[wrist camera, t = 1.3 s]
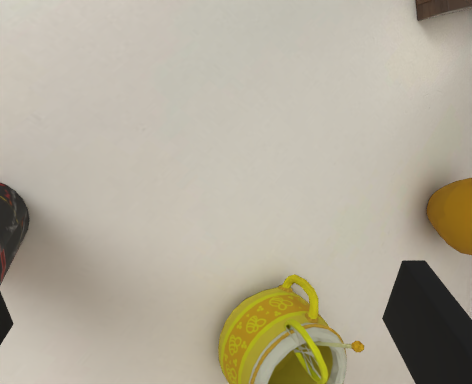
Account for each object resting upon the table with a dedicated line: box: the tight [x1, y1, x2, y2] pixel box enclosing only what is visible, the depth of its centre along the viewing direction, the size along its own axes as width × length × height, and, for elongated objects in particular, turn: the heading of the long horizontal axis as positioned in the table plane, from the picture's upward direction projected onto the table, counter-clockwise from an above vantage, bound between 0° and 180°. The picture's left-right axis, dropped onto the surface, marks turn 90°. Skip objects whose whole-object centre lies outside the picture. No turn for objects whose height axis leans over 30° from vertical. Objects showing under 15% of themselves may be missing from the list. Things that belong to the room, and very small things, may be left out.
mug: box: [218, 274, 364, 384], centre depth 31 cm, size 13×11×12 cm
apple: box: [427, 178, 472, 255], centre depth 40 cm, size 9×9×9 cm
